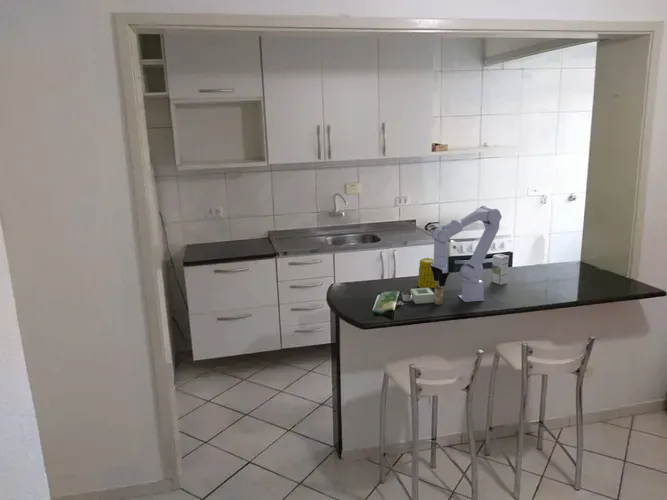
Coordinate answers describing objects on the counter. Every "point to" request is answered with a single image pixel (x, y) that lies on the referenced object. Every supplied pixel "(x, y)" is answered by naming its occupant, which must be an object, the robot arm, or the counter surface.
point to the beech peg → (438, 295)
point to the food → (426, 274)
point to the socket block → (422, 295)
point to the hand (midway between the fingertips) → (439, 283)
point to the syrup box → (499, 269)
